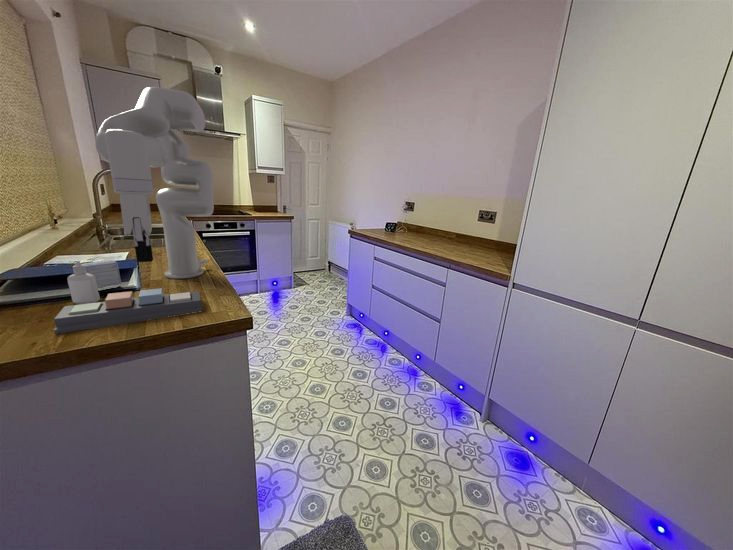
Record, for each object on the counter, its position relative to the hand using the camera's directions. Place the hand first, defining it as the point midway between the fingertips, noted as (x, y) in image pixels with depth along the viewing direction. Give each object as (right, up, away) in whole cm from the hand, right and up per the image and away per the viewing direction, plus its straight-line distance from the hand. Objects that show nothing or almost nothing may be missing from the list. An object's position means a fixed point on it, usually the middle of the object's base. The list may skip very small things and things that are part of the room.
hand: (145, 261), depth 74 cm
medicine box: (-26, -8, +17) cm, 32 cm away
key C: (-12, -14, -3) cm, 18 cm away
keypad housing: (-4, -14, +3) cm, 15 cm away
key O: (-6, -11, 0) cm, 13 cm away
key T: (-1, -11, +3) cm, 11 cm away
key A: (+4, -12, +7) cm, 15 cm away
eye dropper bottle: (-22, -11, +7) cm, 26 cm away
